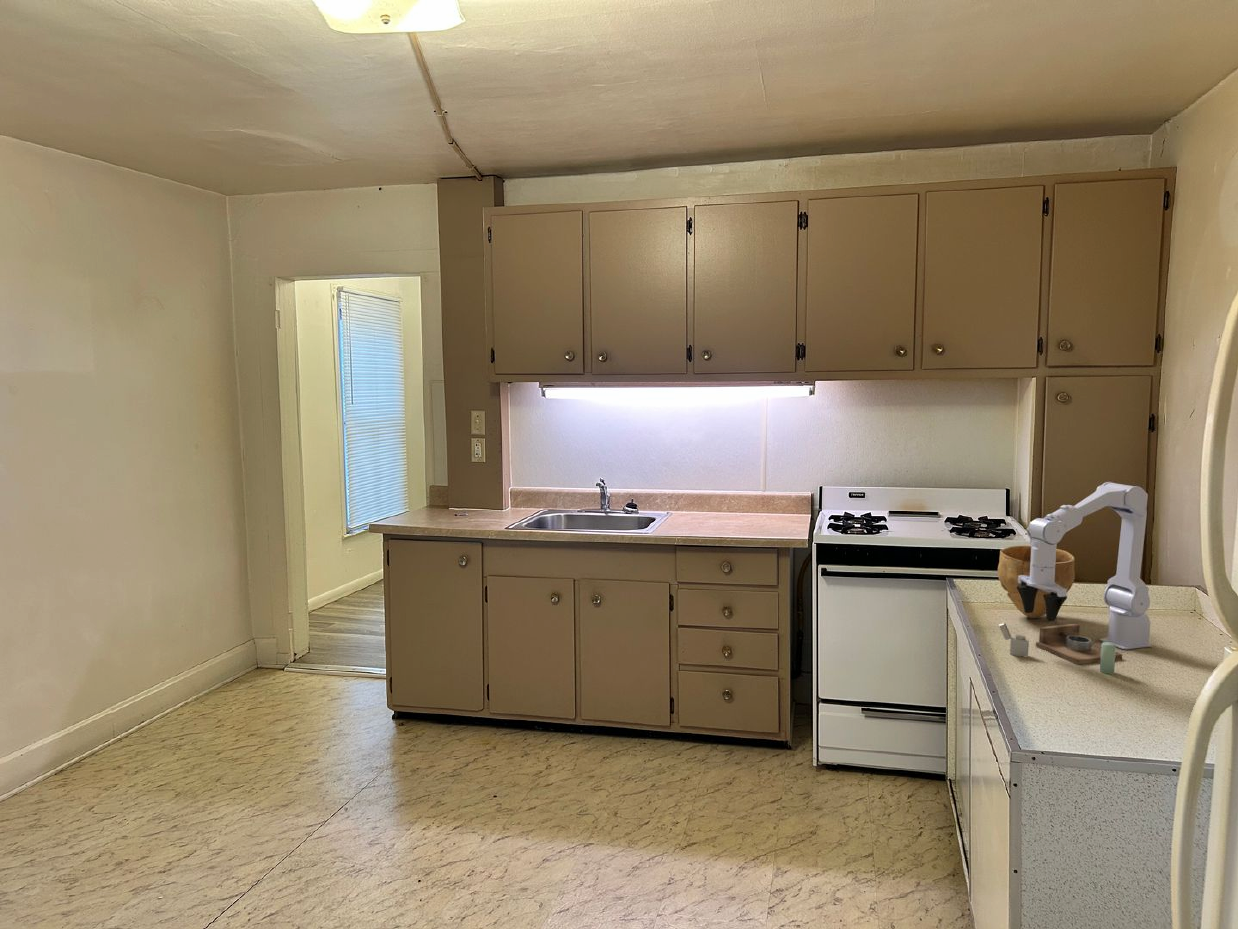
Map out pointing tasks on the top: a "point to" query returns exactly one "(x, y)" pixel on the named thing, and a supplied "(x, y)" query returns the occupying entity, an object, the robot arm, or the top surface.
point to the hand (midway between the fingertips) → (1039, 616)
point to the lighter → (1015, 642)
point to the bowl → (1018, 563)
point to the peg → (1107, 658)
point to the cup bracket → (1070, 644)
